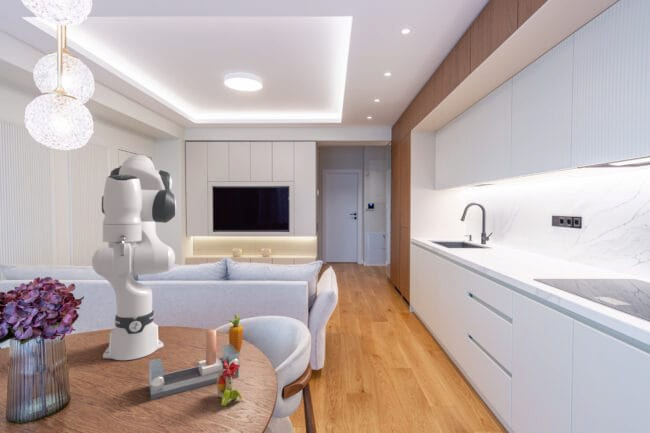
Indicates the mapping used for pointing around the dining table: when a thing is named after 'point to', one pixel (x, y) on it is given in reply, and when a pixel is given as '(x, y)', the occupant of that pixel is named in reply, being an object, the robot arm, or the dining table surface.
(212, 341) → the carriage
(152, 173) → the robot arm
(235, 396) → the decorative toy figure
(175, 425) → the dining table surface
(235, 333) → the carrot
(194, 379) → the rail track
